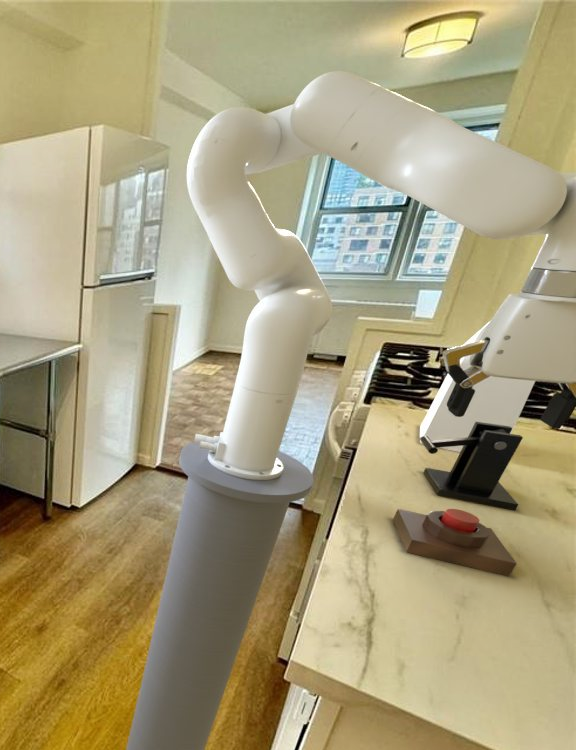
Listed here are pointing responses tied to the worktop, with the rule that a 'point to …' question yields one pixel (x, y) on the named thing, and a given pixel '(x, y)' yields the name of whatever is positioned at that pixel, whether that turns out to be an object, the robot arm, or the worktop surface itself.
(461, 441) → the lever
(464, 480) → the bracket
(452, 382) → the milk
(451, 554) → the button box
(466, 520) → the button
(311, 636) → the worktop surface
